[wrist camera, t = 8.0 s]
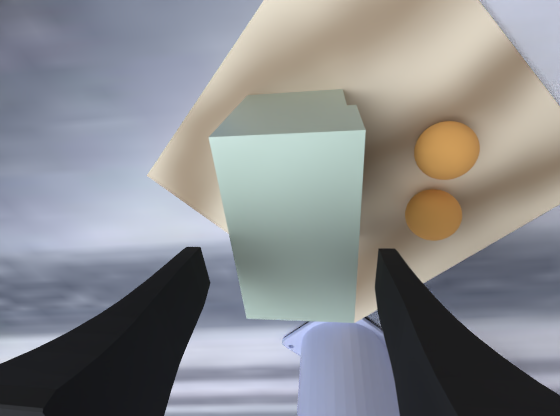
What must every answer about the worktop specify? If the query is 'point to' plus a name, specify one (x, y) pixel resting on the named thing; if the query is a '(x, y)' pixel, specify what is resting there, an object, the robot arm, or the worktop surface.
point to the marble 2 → (433, 214)
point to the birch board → (392, 118)
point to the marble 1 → (446, 150)
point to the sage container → (293, 202)
